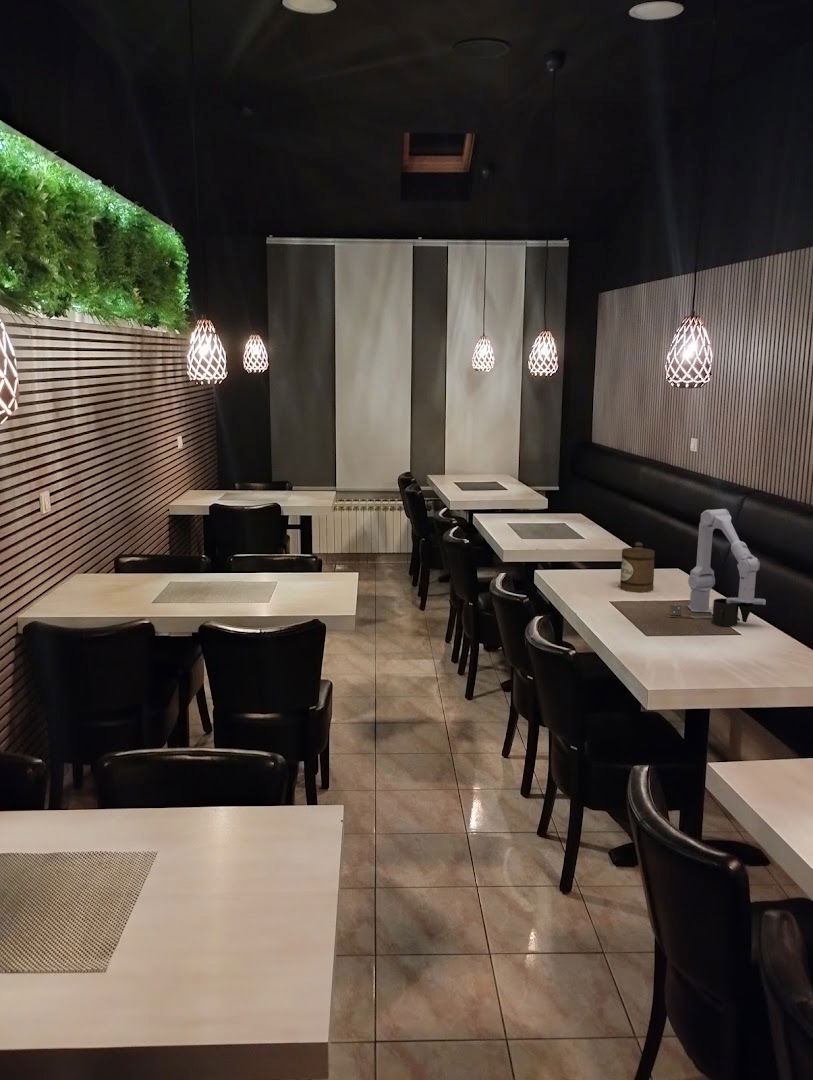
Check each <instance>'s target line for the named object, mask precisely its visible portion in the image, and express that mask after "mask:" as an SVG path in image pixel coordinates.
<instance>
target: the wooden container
mask: <svg viewBox="0 0 813 1080" xmlns="http://www.w3.org/2000/svg"><path fill="white" fill-rule="evenodd" d="M643 544H644V543H642V542H640V541H637V542H635V543H634V547H624V548H622V549H621V562H620V563H621V566H620V584H619V587H620V589H621V590H623V591H625V590H626V591H625V592H630V593H648V592H652V591H653V590H654V579H655V552H656V551H655V550H653V549H651V548H644V547H643Z"/></svg>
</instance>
